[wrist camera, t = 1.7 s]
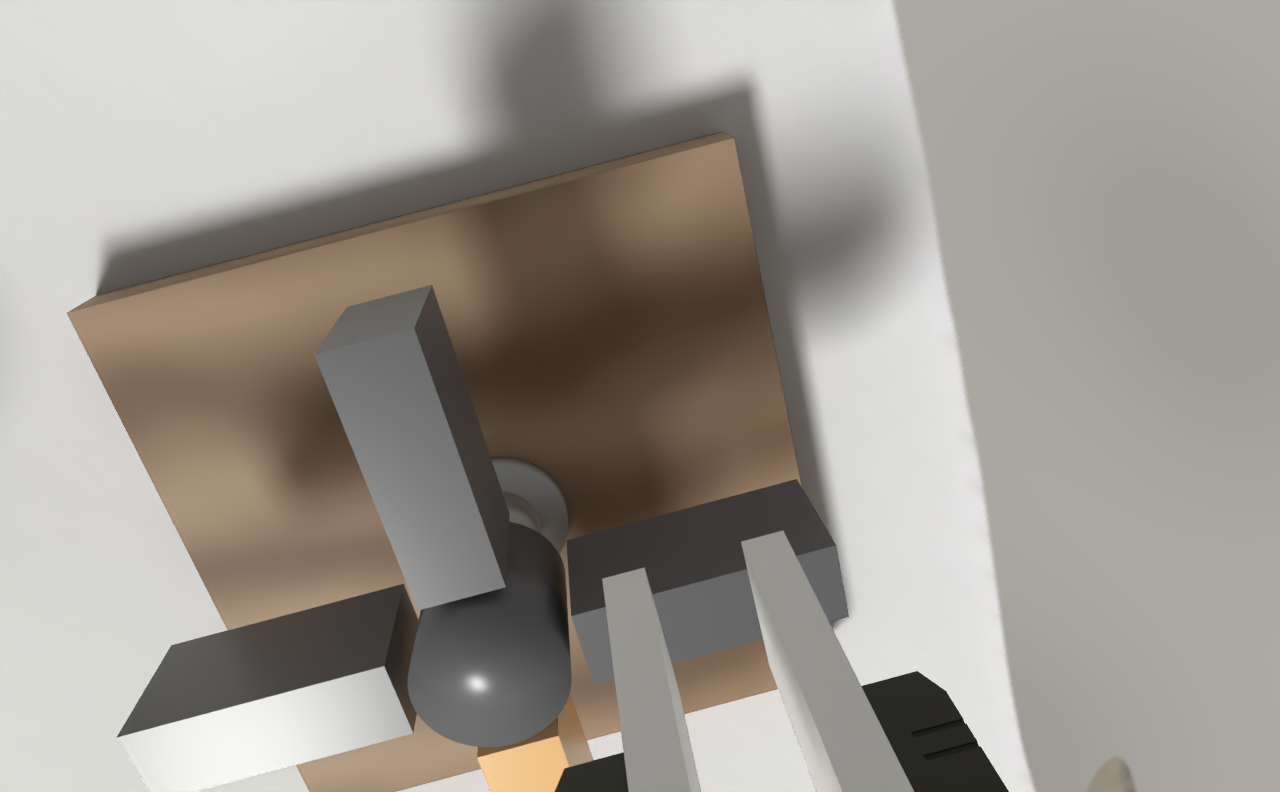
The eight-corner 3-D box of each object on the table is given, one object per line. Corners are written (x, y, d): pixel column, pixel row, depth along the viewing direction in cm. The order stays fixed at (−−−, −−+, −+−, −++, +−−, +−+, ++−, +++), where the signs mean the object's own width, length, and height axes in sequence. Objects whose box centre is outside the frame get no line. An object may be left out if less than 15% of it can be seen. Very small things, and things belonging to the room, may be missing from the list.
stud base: (94, 296, 31) (-2, 353, 25) (722, 132, 31) (762, 153, 26) (330, 775, 39) (296, 897, 34) (823, 642, 40) (870, 742, 34)
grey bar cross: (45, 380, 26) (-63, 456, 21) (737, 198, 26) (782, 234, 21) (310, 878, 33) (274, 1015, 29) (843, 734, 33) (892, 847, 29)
